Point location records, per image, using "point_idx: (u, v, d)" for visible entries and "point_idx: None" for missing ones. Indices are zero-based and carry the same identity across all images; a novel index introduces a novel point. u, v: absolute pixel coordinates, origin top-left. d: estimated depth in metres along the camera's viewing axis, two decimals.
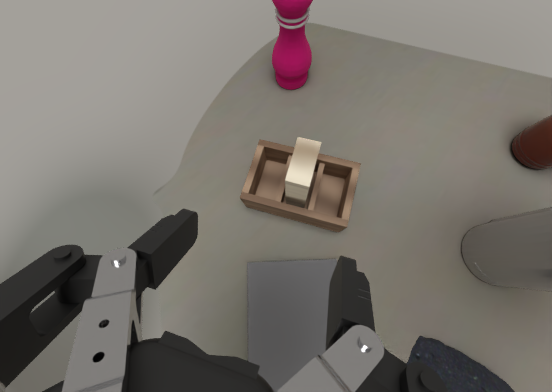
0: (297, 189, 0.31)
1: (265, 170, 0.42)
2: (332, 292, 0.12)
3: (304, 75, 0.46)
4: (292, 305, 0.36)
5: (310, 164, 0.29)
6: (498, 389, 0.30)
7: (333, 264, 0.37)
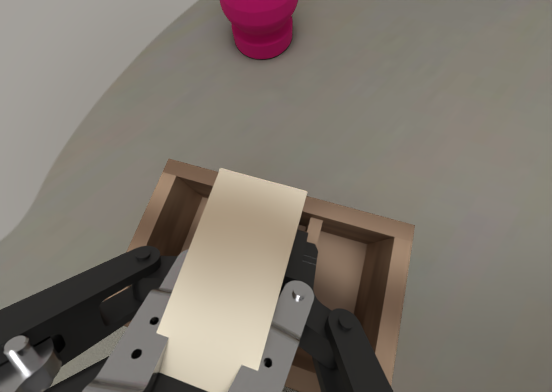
0: None
1: (196, 221, 0.20)
2: None
3: (285, 30, 0.24)
4: None
5: (261, 288, 0.07)
6: None
7: None
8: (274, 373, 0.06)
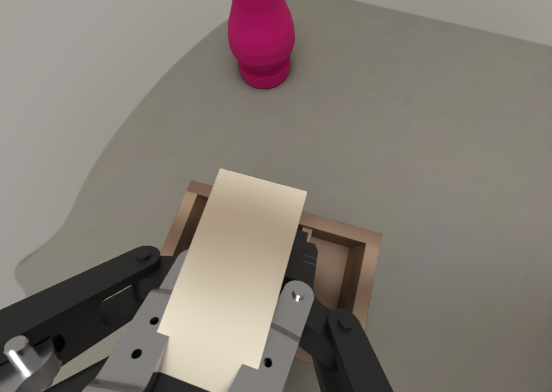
0: None
1: None
2: None
3: (284, 65, 0.28)
4: None
5: (260, 288, 0.07)
6: None
7: None
8: (274, 373, 0.06)
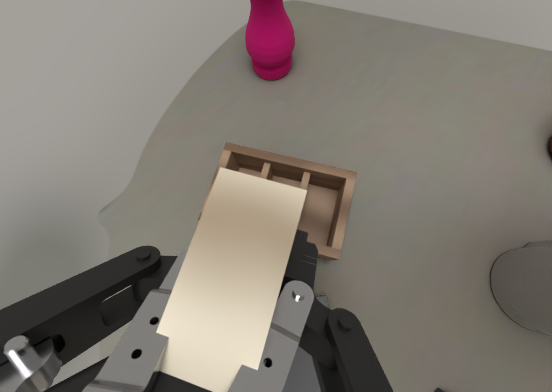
0: None
1: None
2: None
3: (287, 62, 0.37)
4: None
5: (261, 286, 0.07)
6: None
7: (323, 303, 0.29)
8: (274, 373, 0.06)
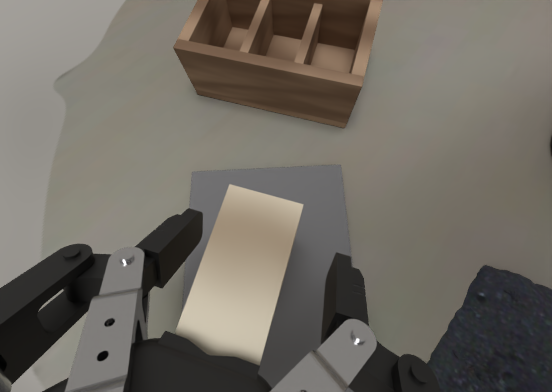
0: None
1: (228, 41, 0.27)
2: (328, 288, 0.12)
3: None
4: None
5: (265, 286, 0.08)
6: None
7: (335, 172, 0.22)
8: None
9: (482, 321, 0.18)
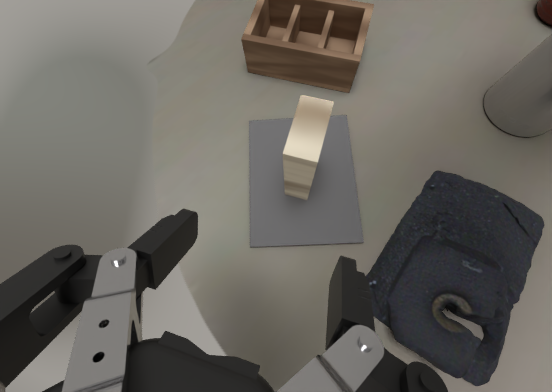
0: (300, 168, 0.22)
1: (268, 36, 0.39)
2: (332, 292, 0.12)
3: None
4: None
5: (319, 131, 0.20)
6: (521, 209, 0.28)
7: (343, 119, 0.34)
8: None
9: (431, 199, 0.30)
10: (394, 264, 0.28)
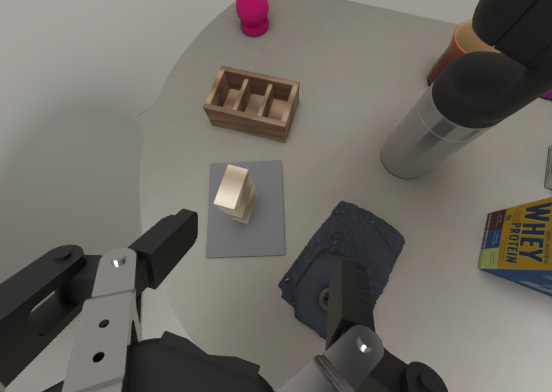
0: (228, 210, 0.35)
1: (228, 96, 0.52)
2: (332, 292, 0.12)
3: (264, 23, 0.55)
4: None
5: (237, 189, 0.33)
6: (389, 231, 0.40)
7: (278, 164, 0.47)
8: None
9: (334, 222, 0.43)
10: (301, 267, 0.41)
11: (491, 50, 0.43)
